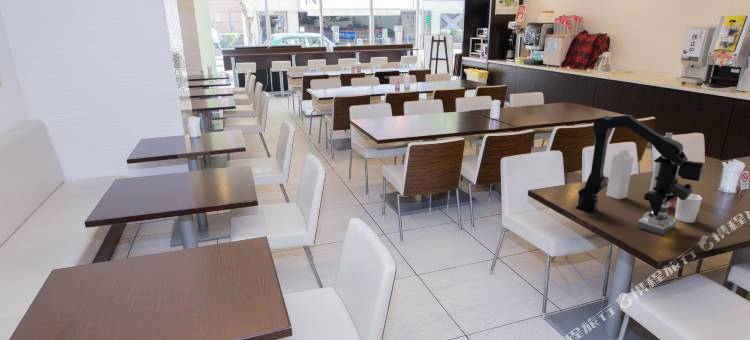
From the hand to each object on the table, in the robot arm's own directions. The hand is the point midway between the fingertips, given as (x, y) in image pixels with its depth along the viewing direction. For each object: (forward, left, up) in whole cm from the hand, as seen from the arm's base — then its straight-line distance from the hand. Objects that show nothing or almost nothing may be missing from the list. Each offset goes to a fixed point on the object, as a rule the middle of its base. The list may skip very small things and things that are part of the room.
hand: (658, 214), depth 168 cm
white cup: (+4, +17, -6) cm, 18 cm away
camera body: (0, 0, -6) cm, 6 cm away
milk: (-25, +22, -6) cm, 34 cm away
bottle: (-16, +44, -6) cm, 47 cm away
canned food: (-7, +25, -6) cm, 27 cm away
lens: (0, 0, -2) cm, 2 cm away
